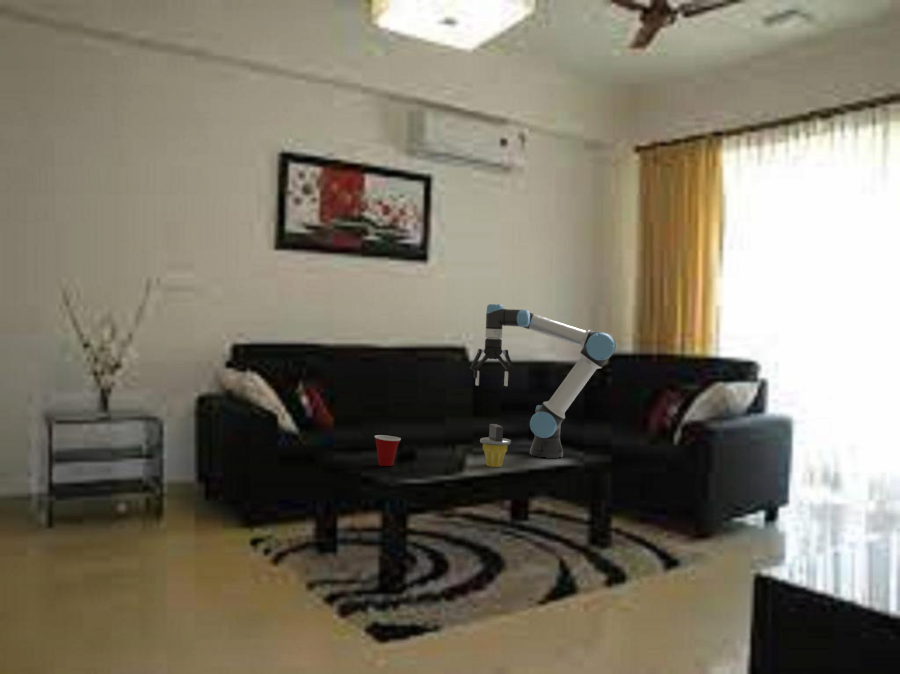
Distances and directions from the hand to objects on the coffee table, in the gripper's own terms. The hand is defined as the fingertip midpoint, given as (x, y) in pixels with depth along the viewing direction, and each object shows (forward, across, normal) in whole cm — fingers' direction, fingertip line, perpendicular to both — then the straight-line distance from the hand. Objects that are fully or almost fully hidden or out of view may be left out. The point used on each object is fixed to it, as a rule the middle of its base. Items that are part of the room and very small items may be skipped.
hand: (491, 385), depth 361 cm
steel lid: (+22, -4, -23) cm, 32 cm away
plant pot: (+32, -5, -23) cm, 40 cm away
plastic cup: (+32, -51, -23) cm, 64 cm away
